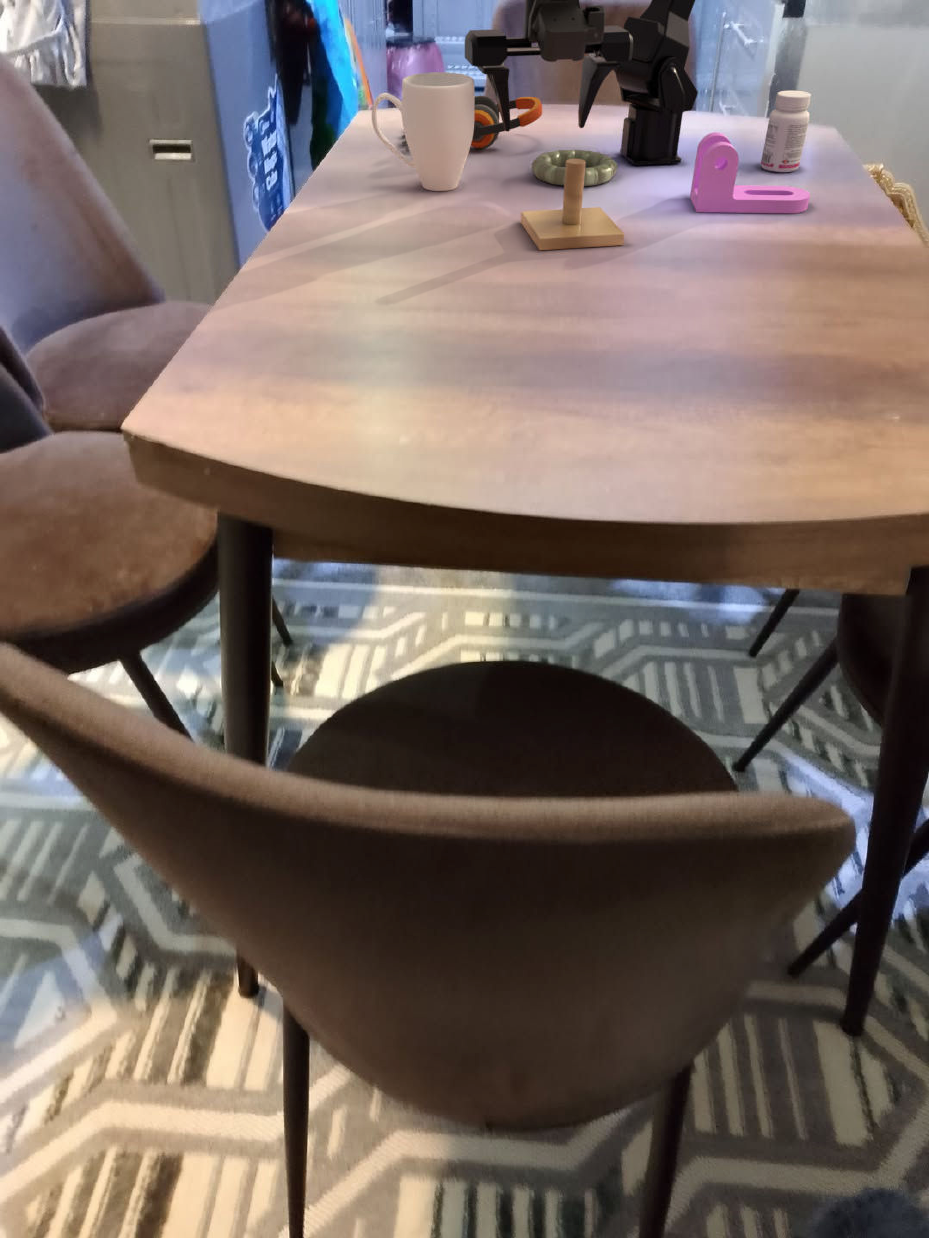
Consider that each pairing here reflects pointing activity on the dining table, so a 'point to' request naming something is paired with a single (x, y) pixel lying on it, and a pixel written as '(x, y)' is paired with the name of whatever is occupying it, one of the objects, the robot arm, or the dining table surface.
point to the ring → (554, 162)
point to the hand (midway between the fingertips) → (544, 129)
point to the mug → (434, 125)
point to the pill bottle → (786, 132)
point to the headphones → (489, 119)
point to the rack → (572, 219)
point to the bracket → (722, 195)
